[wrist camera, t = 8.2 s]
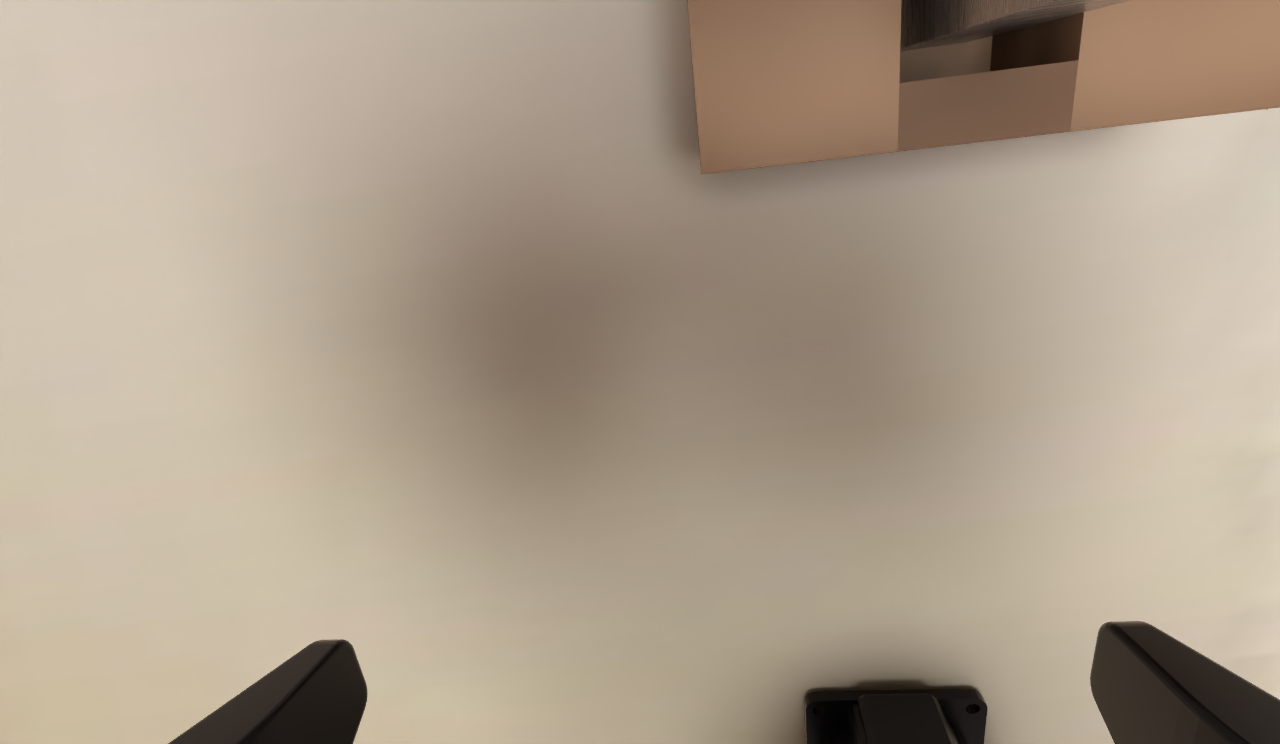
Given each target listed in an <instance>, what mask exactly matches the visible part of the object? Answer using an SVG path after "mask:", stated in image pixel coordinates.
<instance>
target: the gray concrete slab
mask: <svg viewBox="0 0 1280 744" xmlns="http://www.w3.org/2000/svg"><path fill="white" fill-rule="evenodd" d="M1126 1H1130V0H901V39H900V52H902V51H909V50H916V49H923V48H930V47H937V46H944V45H951V44H958V43H965V42H970V41H974V40H978V39H982V38H986V37H990V36H994V35H997V34H1001V33H1005V32H1009V31H1013V30H1017V29H1021V28H1025V27H1029V26H1033V25H1037V24H1040V23H1044V22H1048V21H1052V20H1056V19H1060V18H1064V17H1068V16H1072V15H1076V14H1080V13H1083V12H1087V11H1091V10H1095V9H1099V8H1103V7H1107V6H1111V5H1115V4H1119V3H1123V2H1126Z"/></svg>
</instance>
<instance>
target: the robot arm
mask: <svg viewBox="0 0 1280 744" xmlns="http://www.w3.org/2000/svg"><path fill="white" fill-rule="evenodd" d="M1090 681H1091V689H1092V693H1093V696H1094V699H1095V701H1096V704H1097V706H1098V708H1099V710H1100V712H1101V715H1102V717H1103V719H1104V721H1105V723H1106V725H1107V728H1108V730H1109V732H1110V734H1111V736H1112V739H1113V741H1114V743H1115V744H1280V700H1279V699H1277V698H1276V697H1274V696H1272V695H1271V694H1269V693H1267V692H1265V691H1264V690H1262V689H1260V688H1259V687H1257V686H1255V685H1253V684H1252V683H1250V682H1248V681H1247V680H1245V679H1243V678H1241V677H1240V676H1238V675H1236V674H1235V673H1233V672H1231V671H1229V670H1228V669H1226V668H1224V667H1223V666H1221V665H1219V664H1217V663H1216V662H1214V661H1212V660H1211V659H1209V658H1207V657H1205V656H1204V655H1202V654H1200V653H1199V652H1197V651H1195V650H1193V649H1192V648H1190V647H1188V646H1187V645H1185V644H1183V643H1181V642H1180V641H1178V640H1176V639H1175V638H1173V637H1171V636H1169V635H1168V634H1166V633H1164V632H1163V631H1161V630H1159V629H1157V628H1156V627H1154V626H1152V625H1150V624H1148V623H1145V622H1140V621H1126V622H1107V623H1104V624H1103V625H1102V626H1101V627H1100V629H1099V632H1098V636H1097V642H1096V647H1095V653H1094V658H1093V664H1092V669H1091V676H1090ZM366 702H367V686H366V682H365V679H364V677H363V674H362V671H361V668H360V665H359V663H358V660H357V657H356V654H355V651H354V648H353V646H352V645H351V644H350V643H349V642H348V641H346V640H319V641H315V642H313V643H312V644H310V645H308V646H307V647H306V648H304V649H303V650H301V651H300V652H298V653H297V654H296V655H294V656H293V657H291V658H290V659H288V660H287V661H286V662H284V663H283V664H281V665H280V666H278V667H277V668H276V669H274V670H273V671H271V672H270V673H268V674H267V675H266V676H264V677H263V678H261V679H260V680H259V681H257V682H256V683H254V684H253V685H251V686H250V687H249V688H247V689H246V690H244V691H243V692H241V693H240V694H239V695H237V696H236V697H234V698H233V699H231V700H230V701H228V702H227V703H226V704H224V705H223V706H221V707H220V708H218V709H217V710H216V711H214V712H213V713H211V714H210V715H208V716H207V717H206V718H204V719H203V720H201V721H200V722H198V723H197V724H196V725H194V726H193V727H191V728H190V729H188V730H187V731H186V732H184V733H183V734H181V735H180V736H178V737H177V738H176V739H174V740H173V741H171V742H170V743H168V744H353V742H354V739H355V736H356V733H357V730H358V727H359V724H360V721H361V719H362V716H363V713H364V710H365V706H366ZM969 704H970V705H969ZM817 706H818V707H817ZM804 710H805V738H806V744H984V735H985V726H986V716H987V705H986V703H985V701H984V698H983V696H982V695H981V694H980V693H979V692H977V691H975V690H911V691H844V692H813V693H811V694H809V695H807V696H806V698H805V701H804Z"/></svg>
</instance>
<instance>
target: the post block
mask: <svg viewBox="0 0 1280 744" xmlns="http://www.w3.org/2000/svg"><path fill="white" fill-rule="evenodd" d="M687 3H688V15H689V28H690V40H691V53H692V65H693V77H694V90H695V102H696V114H697V127H698V139H699V151H700V164H701V174H706V173H715V172H724V171H732V170H741V169H750V168H758V167H767V166H776V165H784V164H793V163H802V162H810V161H819V160H828V159H836V158H845V157H854V156H862V155H871V154H880V153H888V152H897V151H906V150H914V149H923V148H932V147H940V146H949V145H958V144H966V143H975V142H984V141H992V140H1001V139H1010V138H1018V137H1027V136H1036V135H1044V134H1053V133H1062V132H1070V131H1079V130H1087V129H1096V128H1105V127H1113V126H1122V125H1131V124H1139V123H1148V122H1157V121H1165V120H1174V119H1183V118H1191V117H1200V116H1209V115H1217V114H1226V113H1235V112H1243V111H1252V110H1261V109H1269V108H1278V107H1280V0H1130V1H1126V2H1123V3H1119V4H1115V5H1111V6H1107V7H1103V8H1099V9H1095V10H1091V11H1087V12H1083V13H1080V14H1076V15H1072V16H1068V17H1064V18H1060V19H1056V20H1052V21H1048V22H1044V23H1040V24H1037V25H1033V26H1029V27H1025V28H1021V29H1017V30H1013V31H1009V32H1005V33H1001V34H997V35H994V36H990V37H986V38H982V39H978V40H974V41H970V42H965V43H958V44H951V45H944V46H937V47H930V48H923V49H916V50H909V51H902V52H900V39H901V0H687Z"/></svg>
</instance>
